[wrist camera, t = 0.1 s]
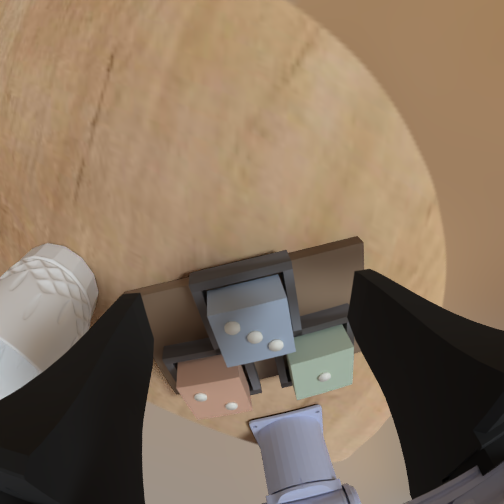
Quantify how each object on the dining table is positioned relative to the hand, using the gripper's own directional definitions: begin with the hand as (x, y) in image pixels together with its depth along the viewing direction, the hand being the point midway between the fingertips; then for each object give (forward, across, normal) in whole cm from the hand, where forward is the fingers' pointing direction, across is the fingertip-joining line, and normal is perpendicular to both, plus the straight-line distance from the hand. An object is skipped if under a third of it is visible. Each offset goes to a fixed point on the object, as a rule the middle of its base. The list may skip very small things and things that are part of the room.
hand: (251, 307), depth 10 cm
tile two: (+8, +3, +13) cm, 15 cm away
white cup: (+10, +14, +4) cm, 17 cm away
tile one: (+8, -5, +11) cm, 15 cm away
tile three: (+8, -1, +6) cm, 10 cm away
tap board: (+10, -1, +10) cm, 14 cm away
